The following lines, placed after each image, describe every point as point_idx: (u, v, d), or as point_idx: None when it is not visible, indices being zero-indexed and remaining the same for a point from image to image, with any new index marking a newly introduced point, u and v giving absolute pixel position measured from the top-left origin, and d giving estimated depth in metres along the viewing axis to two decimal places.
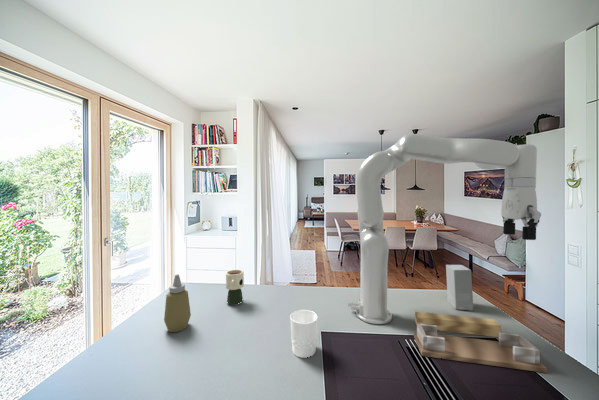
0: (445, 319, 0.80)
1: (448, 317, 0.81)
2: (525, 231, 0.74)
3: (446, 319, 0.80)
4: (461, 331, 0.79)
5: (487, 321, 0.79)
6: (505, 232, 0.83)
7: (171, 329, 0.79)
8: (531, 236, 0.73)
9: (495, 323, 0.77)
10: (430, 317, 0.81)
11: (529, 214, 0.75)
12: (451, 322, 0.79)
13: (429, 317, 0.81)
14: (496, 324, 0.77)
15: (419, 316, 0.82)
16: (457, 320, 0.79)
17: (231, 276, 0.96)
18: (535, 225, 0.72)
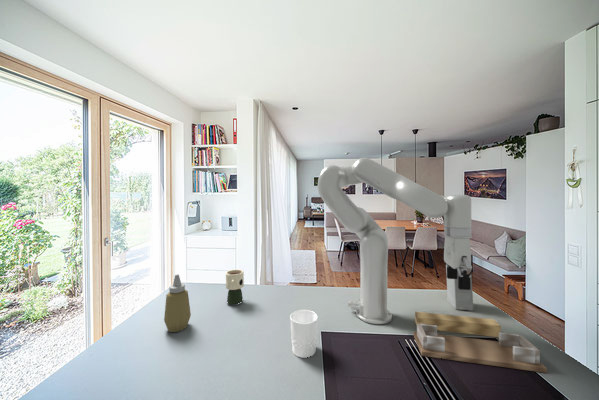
0: (445, 319, 0.80)
1: (448, 317, 0.81)
2: (460, 281, 0.75)
3: (446, 319, 0.80)
4: (461, 331, 0.79)
5: (488, 321, 0.79)
6: (448, 276, 0.85)
7: (171, 329, 0.79)
8: (465, 286, 0.74)
9: (495, 323, 0.77)
10: (430, 317, 0.81)
11: None
12: (451, 322, 0.79)
13: (429, 317, 0.81)
14: (496, 324, 0.77)
15: (419, 316, 0.82)
16: (457, 320, 0.79)
17: (231, 276, 0.96)
18: (468, 276, 0.74)
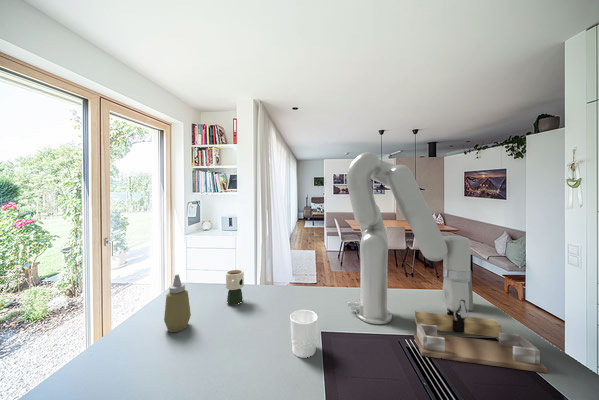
0: (445, 319, 0.80)
1: (448, 317, 0.81)
2: (455, 324, 0.78)
3: (446, 319, 0.80)
4: None
5: (488, 321, 0.79)
6: None
7: (171, 329, 0.79)
8: (459, 330, 0.77)
9: (495, 323, 0.77)
10: (430, 317, 0.81)
11: None
12: (451, 322, 0.79)
13: (429, 317, 0.81)
14: (496, 324, 0.77)
15: (419, 316, 0.82)
16: None
17: (231, 276, 0.96)
18: (462, 320, 0.77)
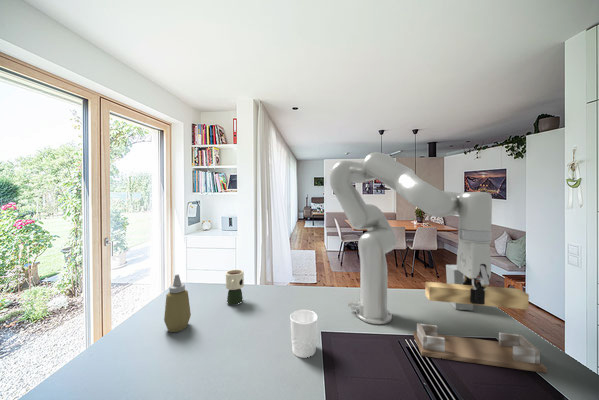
0: (461, 289, 0.68)
1: (465, 287, 0.69)
2: (473, 294, 0.66)
3: (463, 288, 0.68)
4: None
5: (512, 290, 0.67)
6: None
7: (171, 329, 0.79)
8: (479, 300, 0.66)
9: (521, 292, 0.65)
10: (444, 287, 0.69)
11: None
12: (469, 292, 0.67)
13: (443, 287, 0.69)
14: (523, 293, 0.65)
15: (431, 286, 0.70)
16: None
17: (231, 276, 0.96)
18: (483, 289, 0.65)
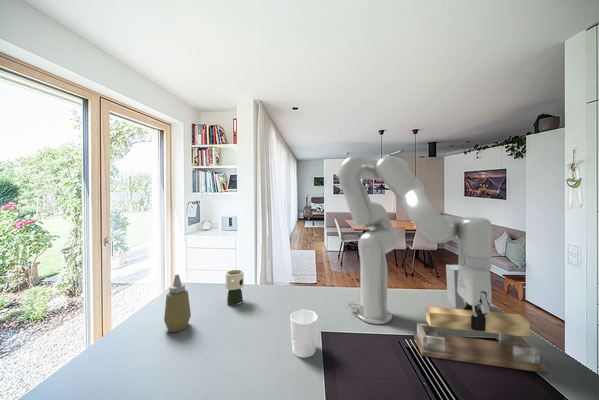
0: (462, 315, 0.68)
1: (466, 312, 0.69)
2: (474, 321, 0.66)
3: (464, 314, 0.68)
4: None
5: (513, 316, 0.67)
6: None
7: (171, 329, 0.79)
8: (480, 327, 0.65)
9: (522, 319, 0.65)
10: (444, 312, 0.69)
11: None
12: (470, 318, 0.67)
13: (443, 312, 0.69)
14: (524, 320, 0.65)
15: (431, 311, 0.70)
16: None
17: (231, 276, 0.96)
18: (483, 316, 0.65)
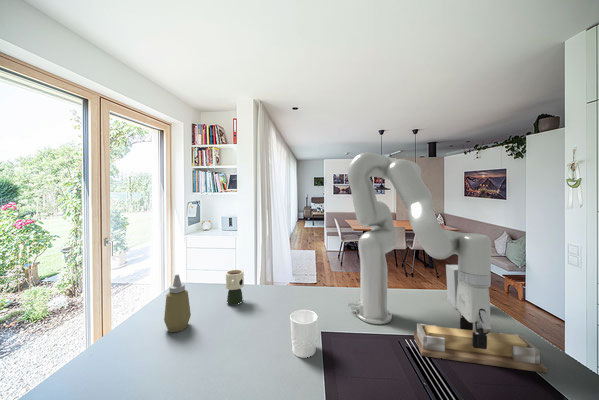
0: (460, 335, 0.68)
1: (464, 332, 0.70)
2: (475, 338, 0.65)
3: (462, 335, 0.68)
4: (479, 349, 0.67)
5: (510, 337, 0.67)
6: None
7: (171, 329, 0.79)
8: (481, 345, 0.64)
9: (520, 340, 0.66)
10: (443, 332, 0.70)
11: None
12: (468, 339, 0.68)
13: (442, 333, 0.69)
14: (521, 342, 0.65)
15: (430, 331, 0.70)
16: None
17: (231, 276, 0.96)
18: (485, 334, 0.64)
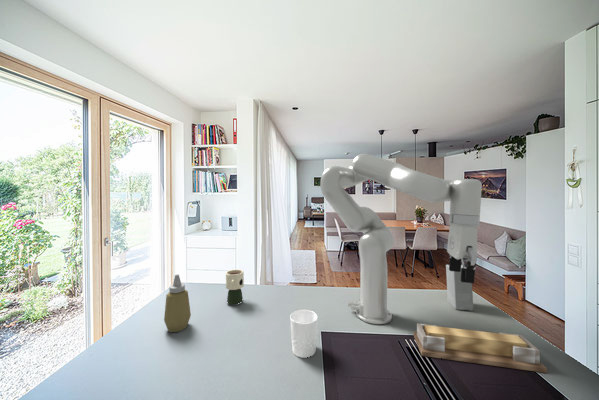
0: (460, 335, 0.68)
1: (464, 332, 0.70)
2: (463, 273, 0.69)
3: (462, 335, 0.68)
4: (479, 349, 0.67)
5: (510, 337, 0.67)
6: (450, 269, 0.78)
7: (171, 329, 0.79)
8: (468, 279, 0.68)
9: (520, 340, 0.66)
10: (443, 332, 0.70)
11: None
12: (468, 339, 0.68)
13: (442, 333, 0.69)
14: (521, 342, 0.65)
15: (430, 331, 0.70)
16: (474, 336, 0.68)
17: (231, 276, 0.96)
18: (473, 268, 0.67)
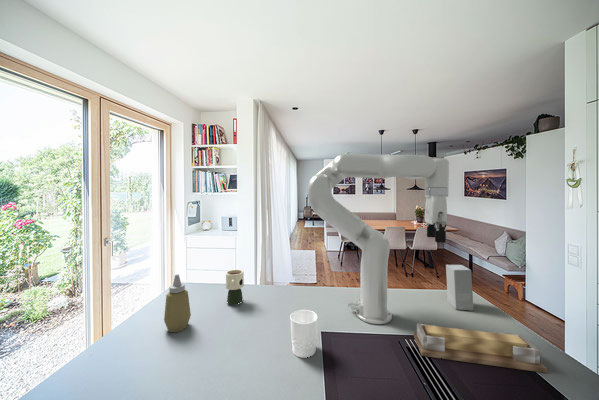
0: (460, 335, 0.68)
1: (464, 332, 0.70)
2: (437, 235, 0.84)
3: (462, 335, 0.68)
4: (479, 349, 0.67)
5: (510, 337, 0.67)
6: (428, 235, 0.93)
7: (171, 329, 0.79)
8: (441, 239, 0.83)
9: (520, 340, 0.66)
10: (443, 332, 0.70)
11: None
12: (468, 339, 0.68)
13: (442, 333, 0.69)
14: (521, 342, 0.65)
15: (430, 331, 0.70)
16: (474, 336, 0.68)
17: (231, 276, 0.96)
18: (444, 229, 0.82)
